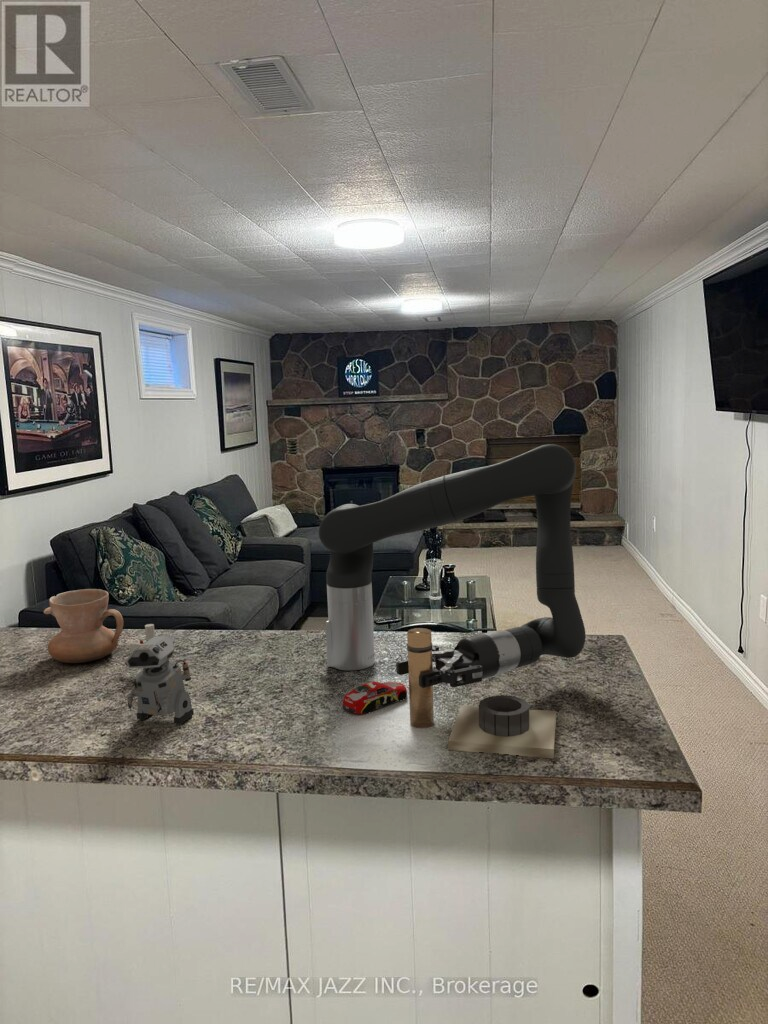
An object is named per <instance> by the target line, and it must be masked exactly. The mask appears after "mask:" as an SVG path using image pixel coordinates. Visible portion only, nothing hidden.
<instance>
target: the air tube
mask: <svg viewBox="0 0 768 1024" xmlns="http://www.w3.org/2000/svg"><path fill="white" fill-rule="evenodd" d="M406 633H407V634H406V636H407V637H406V639H407V640H406V641H407V643H406V649H407V659H408V671H409V673H408V694H409V695H408V696H409V699H408V701H409V723H410V726H411V727H414V728H417V729H426V728H431V727H432V726H434V724H435V720H434V718H435V717H434V715H435V713H434V712H435V710H434V685H433V686H429V687H425V688H422V687H420V686H419V675H420V674H422V673H425V672H429V671H432V646H433V642H432V630H431V629H428V628H423V627H414V628H411V629H409V630H407V631H406Z"/></svg>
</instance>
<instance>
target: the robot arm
mask: <svg viewBox="0 0 768 1024" xmlns="http://www.w3.org/2000/svg"><path fill="white" fill-rule="evenodd" d="M576 476H577V465H576V461H575V458H574V456H573V455H572V453H571V452H570V450H568V449H567V448H565V447H564V446H562V445H559V444H554V443H547V444H543V445H540V446H537V447H535V448H533V449H531V450H529V451H526V452H524V453H521V454H519V455H517V456H514V457H511V458H509V459H506V460H503V461H501V462H498V463H494V464H490V465H486V466H479V467H476V468H470V469H466V470H462V471H458V472H454V473H449V474H445V475H442V476H440V477H436V478H433V479H430V480H426V481H424V482H420V483H417V484H415V485H413V486H411V487H408V488H406V489H404V490H401V491H399V492H397V493H395V494H393V495H391V496H389V497H386V498H384V499H382V500H379V501H376V502H375V501H374V502H372V503H368V504H362V505H358V504H355V503H345V504H342V505H339V506H338V507H335V508H334V509H332V510H331V511H329V512H327V513H326V515H325V516H324V517H323V519H321V522H320V524H319V527H318V537H319V540H320V542H321V544H322V545H323V547H324V548H326V549H328V550H329V563H328V567H327V569H326V572H325V573H326V574H325V575H326V595H327V596H326V597H327V615H328V618H327V620H326V621H325V622H324V623H325V624H324V625H325V641H326V645H325V646H326V647H325V648H326V664H327V666H326V667H328V668H334V669H337V670H341V671H359V670H360V671H361V670H364V669H365V670H366V669H368V668H370V667H372V666H373V665H374V664H375V661H376V659H375V636H374V634H375V633H374V611H373V609H374V607H373V586H372V574H373V573H372V572H373V566H374V543H377V542H379V541H381V540H384V539H388V538H391V537H396V536H400V535H405V534H411V533H415V532H420V531H425V530H429V529H433V528H438V527H443V526H446V525H449V524H452V523H457V522H460V521H462V520H465V519H469V518H471V517H474V516H476V515H479V514H480V513H483V512H485V511H488V510H490V509H491V508H494V507H495V506H497V505H500V504H503V503H504V502H505V503H506V502H510V501H512V500H516V499H517V500H518V499H522V498H526V497H531V496H534V501H535V507H536V517H537V537H536V548H535V549H536V553H535V578H536V580H535V581H536V582H535V583H536V596H537V600H538V602H539V603H540V604H541V605H544V606H546V607H547V608H549V610H550V614H551V617H550V616H548V617H546V616H545V617H540V618H536V619H533V620H531V621H528V622H526V623H523V624H522V625H521V626H516V627H511V628H508V629H504V630H494V631H489V632H485V633H479V634H476V635H472V636H468V637H463V638H461V639H460V640H459V641H458V642H457V644H456V645H455V647H454V648H453V649H452V648H447V649H444V650H440V645H436V644H435V645H432V671H429V672H425V673H422V674H420V675H419V686H420V687H422V688H425V687H429V686H433V687H434V686H436V685H439V684H440V685H443V686H444V685H448V684H449V686H450V687H451V688H457V687H461V686H462V687H463V686H466V685H471V684H475V683H481V682H483V680H484V679H486V678H487V679H488V678H490V677H495V676H498V675H502V674H505V673H507V672H509V671H512V670H514V669H518V668H521V667H525V666H529V665H531V664H534V663H536V662H537V661H538V660H539V659H540V657H541V656H544V655H549V656H553V657H560V658H566V659H572V658H575V657H577V656H579V654H580V653H581V652H582V651H583V649H584V646H585V644H586V643H585V642H586V629H585V624H584V621H583V617H582V613H581V610H580V606H579V603H578V601H577V597H576V591H575V590H576V589H575V587H576V586H575V585H576V583H575V581H576V580H575V565H574V564H575V563H574V552H573V543H572V542H573V541H572V532H571V530H572V529H571V507H572V505H571V503H572V497H573V496H572V495H573V490H574V489H573V488H574V482H575V479H576ZM434 663H435V666H433V664H434ZM395 667H396V674H398V675H399V676H402V675H407V674H409V671H408V658H407V659H403V660H400V661H397V662H396V665H395Z"/></svg>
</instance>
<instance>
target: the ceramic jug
mask: <svg viewBox="0 0 768 1024" xmlns="http://www.w3.org/2000/svg"><path fill="white" fill-rule="evenodd" d="M109 596H110V595H109V592H108V591H107V590H103V589H100V588H98V589H97V588H85V589H77V590H69V591H65V592H61V593H58V594H56V596H55V595H54V596H53V595H52V596H51V597H50V598H49V599H48V600H49V602H48V603H49V607H47V608H45V609H44V610H43V614H45V615H52V616H53V617H55V619H56V621H57V624H58V625H59V627H60V629H61V631H60V632H59V633H57V634H56V635H55V636H54V637H52V638H51V639H50V640H48V641H49V642H48V645H47V652H48V654H49V656H50V657H51V658H52V659H54V660H55V661H58V662H61V663H65V664H66V663H67V664H82V663H88V662H93V661H96V660H100V659H102V658H105V657H107V656H108V655H110V654H112V652H114V651H115V650H116V649H117V647H118V644H119V639H120V636H121V635H122V632H123V630H124V629H123V628H124V618H123V616H122V615H123V614H121V612H120V611H118V610H117V609H114V608H113V609H112V608H109V609H108V604H109V600H110V599H109V598H110V597H109ZM109 616H113V617H114V618H115V622H116V624H115V625H116V629H115V631H113V629H110V628H107V627H105V626H104V625H103V623H104V621H105V620H106V618H108V617H109Z"/></svg>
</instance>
